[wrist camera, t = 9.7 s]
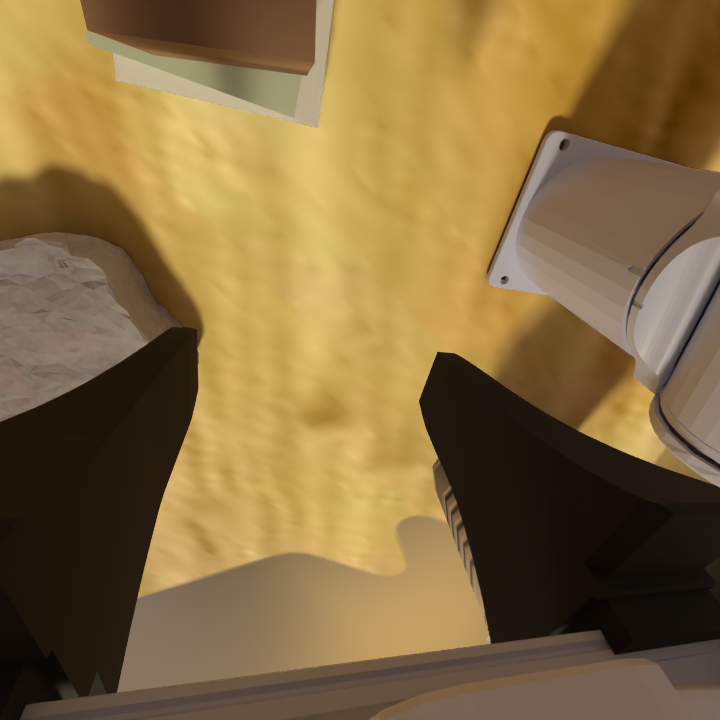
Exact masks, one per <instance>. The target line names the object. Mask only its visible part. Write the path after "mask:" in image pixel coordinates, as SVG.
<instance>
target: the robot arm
mask: <svg viewBox="0 0 720 720" xmlns="http://www.w3.org/2000/svg"><path fill="white" fill-rule="evenodd" d="M562 140H564V141H565V144H564V147H563V148H562V149H561V150H560V149H559V145H560V143H561V141H562ZM504 276H506V278H505V280H504V281H502V282H500V280H501V278H502V277H504ZM486 280H487V282H488V284H490V285H491V286H493V287H499V288H505V289H512V290H518V291H524V292H531V293H537V294H544V295H549V296H550V297H552V298H553V299H555V300H556V301H557V302H559V303H560V304H561V305H563V306H564V307H566V308H567V309H568V310H570V311H571V312H572V313H574V314H575V315H576V316H578V317H579V318H581V319H582V320H583V321H585V322H586V323H587V324H589V325H590V326H592V327H593V328H594V329H596V330H597V331H598V332H600V333H601V334H602V335H604V336H605V337H607V338H608V339H609V340H611V341H612V342H613V343H615V344H616V345H617V346H619V347H620V348H622V349H623V350H624V351H626V352H627V353H628V354H630V355H631V356H633V357H634V358H635V362H636V366H635V371H634V373H633V377H634V378H635V379H636V380H638V381H639V382H640V383H641V384H643V385H644V386H645V387H647V388H648V389H649V390H650V391H652V392H653V393H654V394H655V396H654V398H653V400H652V402H651V403H650V409H649V417H650V422H651V425H652V427H653V429H654V431H655V433H656V434H657V436H658V437H659V439H660V440H661V441H662V443H663V444H664V445H665V446H666V447H667V448H668V449H669V450H670V451H671V452H672V453H673V454H674V455H675V456H676V457H677V458H678V459H680V460H681V461H682V462H683V463H684V464H685V465H687V466H688V467H689V468H691V469H692V470H694V471H695V472H697V473H698V474H699V475H701V476H702V477H704V478H705V479H707V480H708V481H710V482H712V483H713V484H715V485H717V486H718V487H717V486H715V485H712V484H709V483H706V482H703V481H700V480H697V479H694V478H691V477H688V476H685V475H683V474H680V473H677V472H674V471H670V470H668V469H665V468H662V467H659V466H657V465H654V464H652V463H649V462H647V461H644V460H642V459H639V458H637V457H634V456H631V455H629V454H627V453H624V452H622V451H620V450H617V449H615V448H613V447H611V446H608V445H606V444H604V443H602V442H600V441H598V440H596V439H593V438H591V437H589V436H587V435H585V434H583V433H581V432H579V431H577V430H575V429H573V428H571V427H570V426H568V425H566V424H564V423H562V422H560V421H559V420H557V419H555V418H553V417H551V416H550V415H548V414H546V413H545V412H543V411H541V410H540V409H538V408H536V407H535V406H533V405H532V404H530V403H529V402H527V401H525V400H524V399H522V398H521V397H519V396H518V395H516V394H515V393H513V392H512V391H510V390H509V389H507V388H506V387H505V386H503V385H502V384H500V383H499V382H497V381H496V380H494V379H493V378H492V377H490V376H489V375H487V374H486V373H485V372H483V371H482V370H480V369H479V368H477V367H476V366H474V365H473V364H471V363H470V362H469V361H467V360H465V359H464V358H462V357H460V356H459V355H457V354H455V353H444V352H437V355H436V358H435V360H434V363H433V365H432V368H431V371H430V373H429V376H428V379H427V381H426V384H425V387H424V389H423V392H422V394H421V397H420V400H419V403H420V407H421V411H422V416H423V419H424V423H425V427H426V429H427V432H428V434H429V437H430V439H431V442H432V444H433V446H434V449H435V451H436V453H437V456H438V458H439V460H440V463H441V465H442V467H443V470H444V472H445V474H446V477H447V479H448V481H449V484H450V486H451V489H452V491H453V494H454V497H455V499H456V502H457V506H458V509H459V512H460V515H461V519H462V522H463V525H464V528H465V532H466V536H467V539H468V543H469V547H470V550H471V554H472V558H473V562H474V566H475V570H476V574H477V579H478V583H479V587H480V591H481V596H482V600H483V605H484V610H485V615H486V620H487V625H488V630H489V636H490V641H491V644H487V645H479V646H471V647H464V648H456V649H448V650H441V651H434V652H426V653H419V654H410V655H402V656H395V657H388V658H379V659H372V660H364V661H357V662H350V663H341V664H333V665H327V666H319V667H310V668H303V669H295V670H287V671H281V672H272V673H265V674H257V675H249V676H241V677H234V678H226V679H219V680H211V681H203V682H195V683H188V684H180V685H172V686H165V687H157V688H149V689H142V690H134V691H127V692H119V693H117V689H118V684H119V679H120V674H121V669H122V665H123V661H124V656H125V651H126V646H127V642H128V637H129V632H130V627H131V623H132V619H133V615H134V610H135V605H136V601H137V597H138V592H139V588H140V584H141V580H142V575H143V571H144V567H145V563H146V559H147V555H148V551H149V547H150V542H151V539H152V535H153V531H154V527H155V523H156V519H157V515H158V511H159V508H160V504H161V501H162V498H163V495H164V492H165V489H166V486H167V483H168V481H169V478H170V475H171V473H172V470H173V467H174V465H175V462H176V459H177V457H178V454H179V451H180V449H181V446H182V443H183V441H184V438H185V435H186V433H187V430H188V427H189V425H190V422H191V419H192V415H193V411H194V406H195V402H196V397H197V392H198V361H197V329H192V328H181V327H171V328H169V329H168V330H166V331H165V332H163V333H162V334H161V335H159V336H158V337H156V338H155V339H154V340H152V341H151V342H149V343H148V344H146V345H145V346H144V347H142V348H141V349H139V350H138V351H136V352H135V353H133V354H132V355H130V356H129V357H127V358H126V359H124V360H123V361H121V362H119V363H118V364H116V365H114V366H113V367H111V368H109V369H108V370H106V371H104V372H103V373H101V374H99V375H98V376H96V377H94V378H93V379H91V380H89V381H88V382H86V383H84V384H82V385H80V386H78V387H76V388H75V389H73V390H71V391H69V392H67V393H65V394H63V395H61V396H58V397H56V398H54V399H52V400H50V401H48V402H46V403H44V404H42V405H39V406H37V407H35V408H33V409H30V410H28V411H25V412H23V413H20V414H18V415H16V416H13V417H11V418H8V419H6V420H3V421H1V422H0V720H720V602H719V601H718V600H717V599H716V598H715V596H714V595H713V594H712V593H711V592H710V591H709V589H711V588H713V587H715V586H716V583H715V580H714V579H713V578H712V577H711V576H710V575H709V574H708V573H707V571H706V570H705V569H704V568H705V567H706V566H708V565H709V564H710V563H712V562H713V561H714V560H715V559H717V558H718V557H720V488H719V487H720V172H717V171H710V170H703V169H697V168H690V167H686V166H682V165H679V164H675V163H672V162H668V161H665V160H661V159H658V158H654V157H651V156H647V155H644V154H640V153H637V152H633V151H630V150H626V149H623V148H619V147H616V146H612V145H609V144H605V143H602V142H598V141H595V140H591V139H588V138H584V137H581V136H577V135H574V134H570V133H567V132H563V131H559V130H552V131H550V132H549V133H547V134H546V135H545V137H544V139H543V141H542V143H541V146H540V148H539V151H538V153H537V155H536V158H535V160H534V163H533V165H532V168H531V170H530V172H529V175H528V177H527V180H526V182H525V185H524V187H523V189H522V192H521V194H520V197H519V199H518V202H517V204H516V206H515V209H514V211H513V214H512V216H511V219H510V221H509V223H508V226H507V228H506V231H505V233H504V236H503V238H502V240H501V243H500V245H499V248H498V250H497V252H496V255H495V257H494V260H493V262H492V265H491V267H490V269H489V272H488V274H487V278H486Z"/></svg>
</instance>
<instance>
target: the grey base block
mask: <svg viewBox="0 0 720 720" xmlns="http://www.w3.org/2000/svg"><path fill="white" fill-rule="evenodd" d="M333 3H334V0H316V37H315V63H314V65H313V66H312V68H311V70H310V71H309V73H308V75H307V76H304V75H302V77H301V83H300V88H299V94H298V99H297V105H296V110H295V115H294V118H292V117H289V116H286V115H284V114H281V113H278V112H275V111H273V110H270V109H267V108H264V107H262V106H259V105H256V104H253V103H251V102H248V101H245V100H242V99H239V98H237V97H234V96H231V95H228V94H226V93H223V92H220V91H217V90H215V89H212V88H209V87H206V86H204V85H201V84H198V83H195V82H193V81H190V80H187V79H184V78H182V77H179V76H176V75H173V74H171V73H168V72H165V71H162V70H160V69H157V68H154V67H151V66H149V65H146V64H143V63H140V62H138V61H135V60H132V59H129V58H127V57H124V56H121V55H118V54H115V53H113V59H114V68H115V76H116V80H117V81H121V82H125V83H130V84H134V85H138V86H142V87H146V88H151V89H155V90H159V91H163V92H167V93H172V94H176V95H180V96H184V97H188V98H193V99H197V100H201V101H205V102H210V103H214V104H218V105H222V106H226V107H231V108H235V109H239V110H243V111H247V112H252V113H256V114H260V115H264V116H269V117H273V118H277V119H281V120H285V121H290V122H294V123H298V124H302V125H306V126H311V127H315V128H318V125H319V116H320V108H321V100H322V92H323V84H324V76H325V68H326V60H327V52H328V44H329V35H330V27H331V19H332V11H333Z"/></svg>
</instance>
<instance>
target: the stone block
mask: <svg viewBox="0 0 720 720" xmlns="http://www.w3.org/2000/svg"><path fill="white" fill-rule="evenodd" d="M171 327H181V328H183V327H182V325H181V323H180V322H178V321H177V320H176V319H174V318H173V316H172V315H171V314H170V313H169V312H168V311H167V310H166V309H165V308H164V307H163V306H161V305H159V304H158V303H157V301H156V300H155V299H154V297H153V296H152V295H151V292H150V290H149V288H148V286H147V284H146V282H145V279H144V276H143V274H142V273H141V272H140V270H139V269H138V267H137V266H136V265H135V263H134V262H133V260H132V259H131V257H130V255H129V254H128V253H127V252H126V251H125V250H124V249H123V248H121V247H118V246H115V245H113V244H111V243H109V242H107V241H105V240H102V239H100V238H97V237H93V236H89V235H84V234H83V235H77V234H70V233H63V232H52V233H38V234H33V235H29V236H25V237H21V238H14V239H7V240H2V241H0V422H1V421H3V420H6V419H8V418H11V417H13V416H16V415H18V414H20V413H23V412H25V411H28V410H30V409H33V408H35V407H37V406H39V405H42V404H44V403H46V402H48V401H50V400H52V399H54V398H56V397H58V396H61V395H63V394H65V393H67V392H69V391H71V390H73V389H75V388H76V387H78V386H80V385H82V384H84V383H86V382H88V381H89V380H91V379H93V378H94V377H96V376H98V375H99V374H101V373H103V372H104V371H106V370H108V369H109V368H111V367H113V366H114V365H116V364H118V363H119V362H121V361H123V360H124V359H126V358H127V357H129V356H130V355H132V354H133V353H135V352H136V351H138V350H139V349H141V348H142V347H144V346H145V345H146V344H148V343H149V342H151V341H152V340H154V339H155V338H156V337H158V336H159V335H161V334H162V333H163V332H165V331H166V330H168V329H169V328H171ZM197 361H198V350H197Z"/></svg>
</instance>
